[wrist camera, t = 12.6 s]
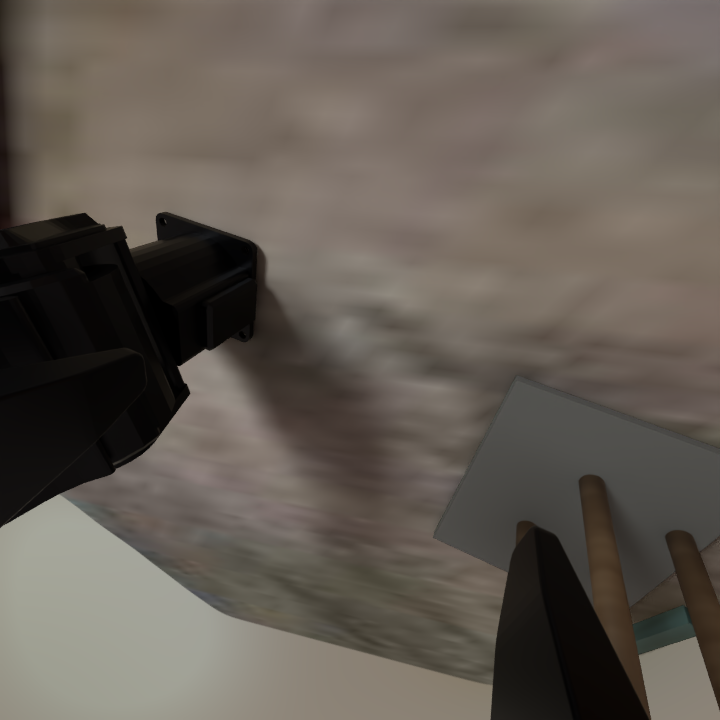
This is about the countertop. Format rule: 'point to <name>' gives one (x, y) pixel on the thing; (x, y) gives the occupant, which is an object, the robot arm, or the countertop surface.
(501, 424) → the mat
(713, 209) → the countertop surface
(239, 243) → the robot arm
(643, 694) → the stool
